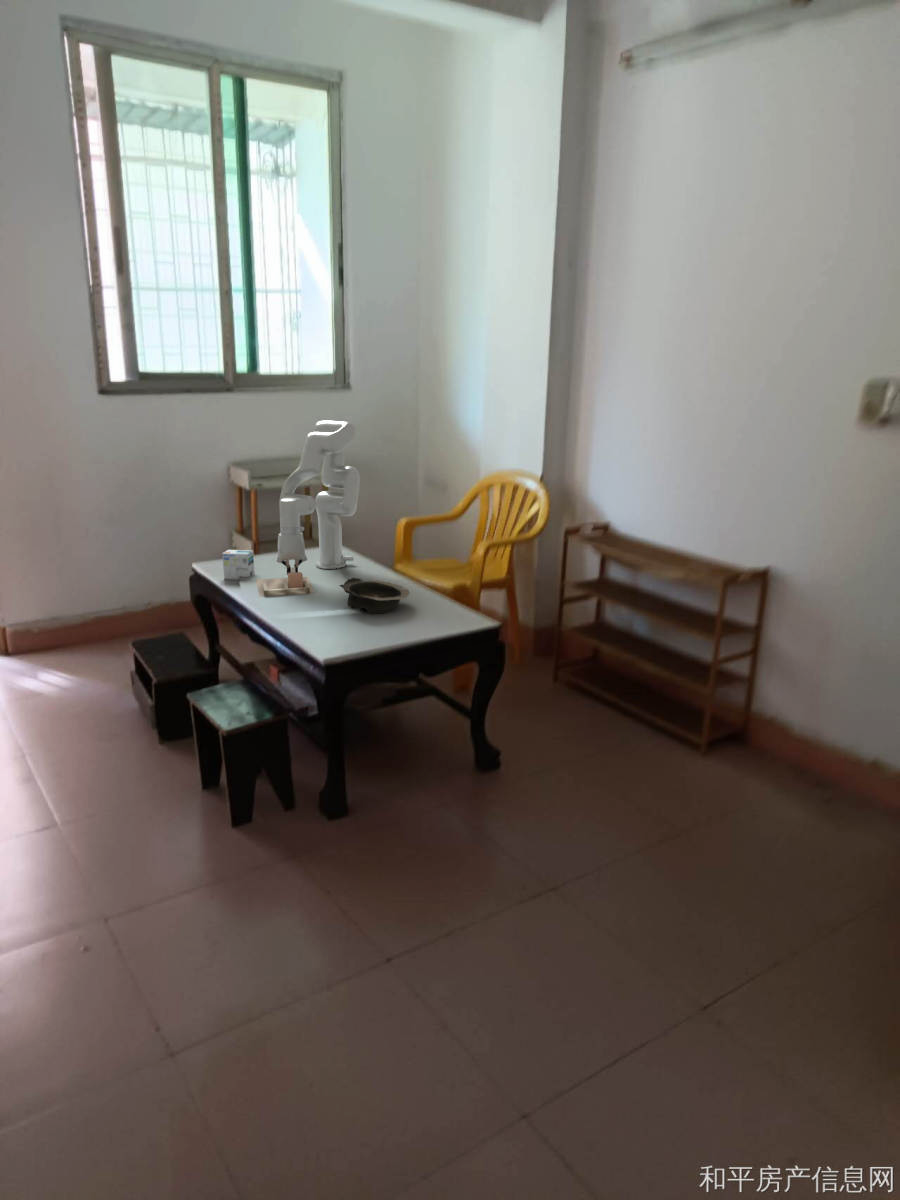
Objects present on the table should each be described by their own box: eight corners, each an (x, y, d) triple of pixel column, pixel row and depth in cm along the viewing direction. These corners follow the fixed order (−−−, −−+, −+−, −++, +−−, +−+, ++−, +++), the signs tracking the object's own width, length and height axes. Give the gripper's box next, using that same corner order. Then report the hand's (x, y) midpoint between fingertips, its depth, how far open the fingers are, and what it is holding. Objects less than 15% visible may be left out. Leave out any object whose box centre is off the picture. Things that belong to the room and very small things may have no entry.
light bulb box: (255, 575, 333) (253, 549, 329) (249, 580, 326) (248, 554, 323) (229, 574, 333) (227, 548, 330) (223, 579, 327) (221, 553, 324)
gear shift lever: (299, 581, 323) (298, 566, 322) (303, 587, 312) (302, 571, 310) (286, 582, 322) (285, 567, 321) (289, 588, 310) (289, 572, 309)
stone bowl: (325, 608, 294) (326, 582, 292) (373, 597, 314) (373, 573, 311) (377, 622, 280) (378, 595, 278) (423, 609, 299) (424, 584, 297)
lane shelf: (307, 580, 327) (307, 571, 326) (314, 596, 307) (314, 587, 306) (256, 583, 322) (255, 574, 321) (259, 600, 302) (259, 591, 301)
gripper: (309, 527, 322) (311, 572, 328) (269, 529, 318) (271, 575, 324) (312, 531, 316) (313, 577, 321) (270, 533, 311) (273, 580, 317)
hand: (292, 576), depth 323 cm, fingers closed on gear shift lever, 1 cm apart
